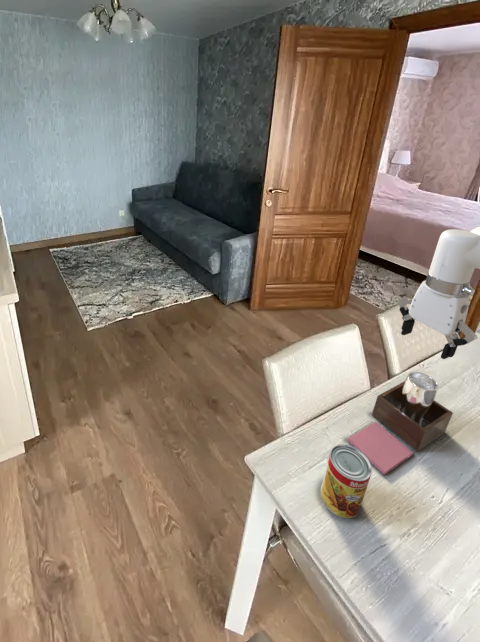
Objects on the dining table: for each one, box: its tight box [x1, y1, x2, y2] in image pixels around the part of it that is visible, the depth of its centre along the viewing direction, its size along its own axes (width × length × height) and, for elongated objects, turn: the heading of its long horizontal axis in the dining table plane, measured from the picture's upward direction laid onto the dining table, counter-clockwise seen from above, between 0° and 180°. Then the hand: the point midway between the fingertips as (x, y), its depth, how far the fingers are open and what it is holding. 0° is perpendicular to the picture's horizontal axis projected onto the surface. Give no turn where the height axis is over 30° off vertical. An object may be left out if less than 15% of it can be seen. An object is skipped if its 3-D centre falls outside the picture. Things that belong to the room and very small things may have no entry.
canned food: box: [320, 443, 373, 519], centre depth 73 cm, size 8×8×12 cm
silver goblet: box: [398, 371, 439, 426], centre depth 91 cm, size 7×7×15 cm
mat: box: [347, 421, 414, 476], centre depth 87 cm, size 11×10×1 cm
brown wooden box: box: [371, 380, 454, 452], centre depth 93 cm, size 12×12×7 cm
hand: (424, 344), depth 85 cm, fingers open, 9 cm apart
